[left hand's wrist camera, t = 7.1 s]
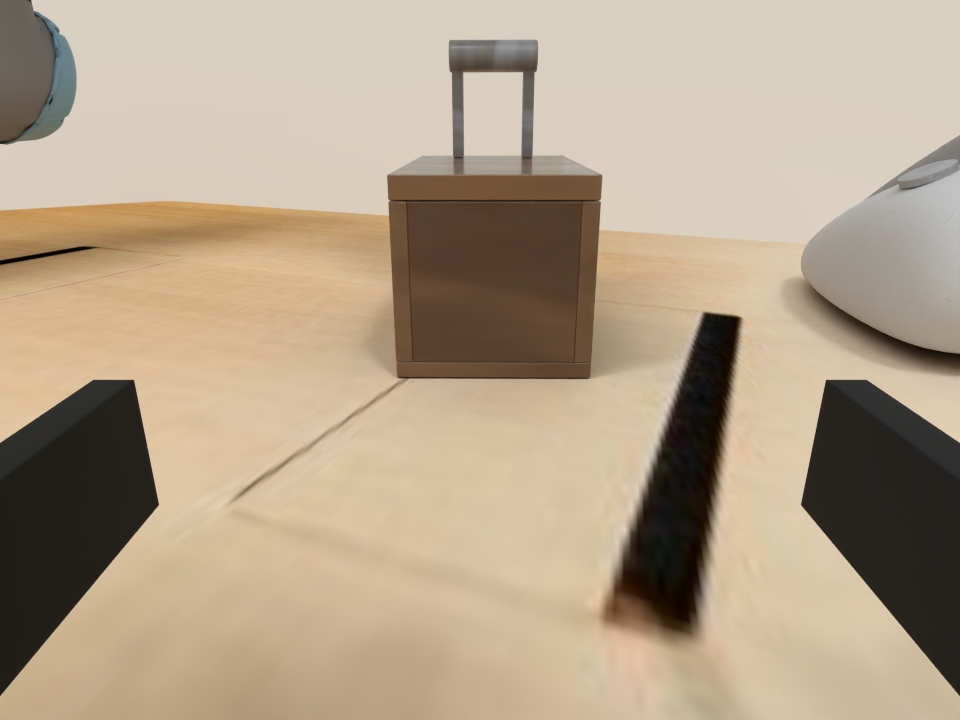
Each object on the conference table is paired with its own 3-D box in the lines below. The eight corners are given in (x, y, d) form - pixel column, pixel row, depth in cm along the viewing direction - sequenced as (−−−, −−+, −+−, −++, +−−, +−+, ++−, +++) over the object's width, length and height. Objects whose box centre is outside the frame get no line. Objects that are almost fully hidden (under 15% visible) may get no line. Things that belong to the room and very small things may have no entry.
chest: (425, 297, 49) (421, 174, 46) (558, 297, 49) (563, 174, 46) (397, 377, 34) (388, 201, 31) (589, 378, 34) (600, 201, 31)
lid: (422, 173, 46) (418, 43, 43) (562, 173, 46) (568, 43, 43) (388, 200, 31) (378, 1, 28) (601, 200, 31) (613, 0, 28)
